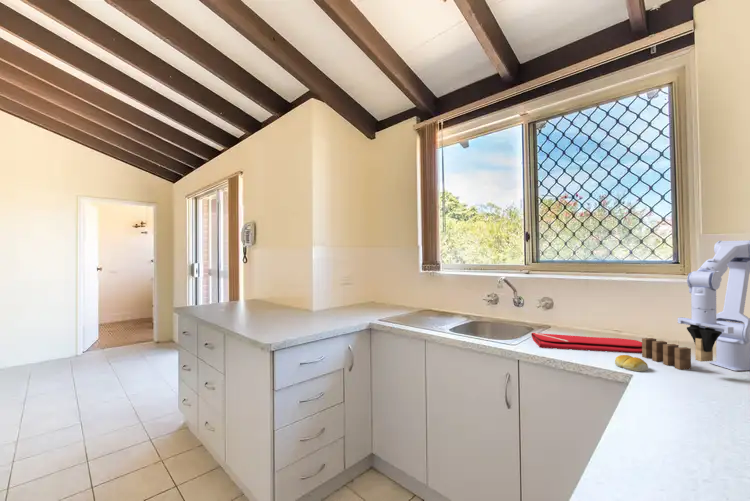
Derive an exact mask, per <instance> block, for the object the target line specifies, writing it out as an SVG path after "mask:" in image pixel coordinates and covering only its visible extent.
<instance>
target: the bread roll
mask: <svg viewBox="0 0 750 501" xmlns="http://www.w3.org/2000/svg"><path fill="white" fill-rule="evenodd" d="M614 363H615V365H616V366H617V367H619V368H621V369H623V370H624V369H625V370H626V371H632V372H646V371H647V370H648V369H649V365H648V363H647V362H646V361H644V360H643V359H641V358H639V357H633V356H632V355H629V354H620V355H618V356H616V357H615V359H614Z"/></svg>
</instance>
